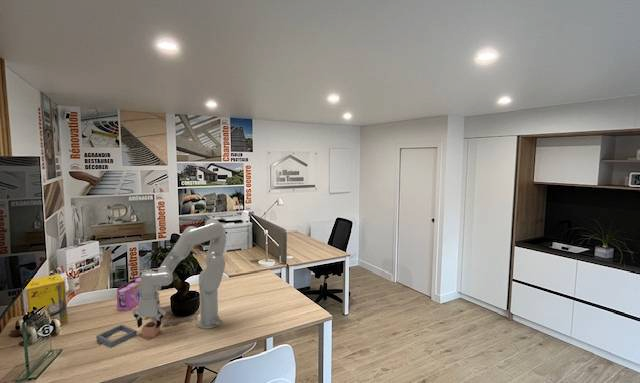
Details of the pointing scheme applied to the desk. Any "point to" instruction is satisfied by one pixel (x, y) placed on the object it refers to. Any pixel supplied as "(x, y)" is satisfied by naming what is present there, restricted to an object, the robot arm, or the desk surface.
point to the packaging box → (47, 297)
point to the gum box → (129, 295)
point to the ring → (150, 330)
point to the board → (151, 337)
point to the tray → (105, 335)
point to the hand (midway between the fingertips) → (149, 326)
